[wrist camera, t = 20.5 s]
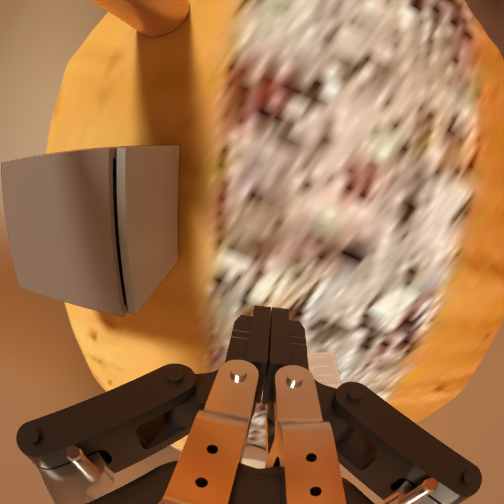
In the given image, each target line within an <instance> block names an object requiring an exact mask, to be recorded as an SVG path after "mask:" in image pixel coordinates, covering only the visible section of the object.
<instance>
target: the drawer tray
mask: <svg viewBox="0 0 504 504" xmlns="http://www.w3.org/2000/svg"><path fill="white" fill-rule="evenodd" d="M179 157H180V145H163V146H140V147H124V148H117V158H114V159H113V173H116V174H117V213H118V229H119V242H118V243H117V244H116V246H117V256H118V257H121V262H122V271H123V279H124V286H125V293H126V300H127V306H128V312H129V313H131V314H137V313H138V311H139V310H140V309H141V308H142V306H143V305H144V304H145V302H146V301H147V300H148V298H149V297H150V296H151V295H152V293H153V292H154V291H155V289H156V288H157V287H158V286H159V284H160V283H161V282H162V281H163V279H164V278H165V277H166V276H167V274H168V273H169V272H170V271H171V269H172V268H173V267H174V266H175V264H176V263H177V262H178V181H179Z"/></svg>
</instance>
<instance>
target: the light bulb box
mask: <svg viewBox="0 0 504 504" xmlns="http://www.w3.org/2000/svg"><path fill="white" fill-rule="evenodd" d="M307 355H308V365H309V371H310V372H311V373H312V375H313V377H314V379H315V380H316V381H318V382H319V383H321V384H323V385H326V386H330V387H333V388H338V387H339V386H340V385H341V381H340V376H339V371H338V367H337V362H336V357H335V353H334V352H325V353H307Z"/></svg>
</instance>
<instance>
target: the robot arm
mask: <svg viewBox="0 0 504 504" xmlns="http://www.w3.org/2000/svg"><path fill="white" fill-rule="evenodd" d="M89 1H91V2H93V3H95V4H97V5H98V6H100V7H102V8H103V9H105V10H107V11H108V12H110V13H111V14H113V15H115V16H116V17H118V18H119V19H121V20H122V21H124V22H125V23H127V24H128V25H130V26H131V27H133V28H134V29H136V30H137V31H139V32H140V33H142V34H143V35H146V36H151V37H153V36H160V35H164V34H167V33H169V32H171V31H172V30H174V29H176V28H177V27H178V26H179V25H180V24H181V23H182V22H183V21H184V20H185V18H186V17H187V15H188V13H189V8H190V7H189V2H188V0H89ZM270 314H271V317H270ZM262 391H263V397H262V403H268V408H267V415H266V420H265V423H266V464H265V468H262V469H259V468H254V467H251V466H248V465H245V464H242V460H243V456H244V451H245V447H246V442H247V438H248V434H249V429H250V425H251V420H252V416H253V415H254V413H255V407H256V402H257V403H260V402H261V396H262ZM188 434H189V435H188ZM186 435H188V438H187V440H186V443H185V445H184V448H183V450H182V452H181V455H180V458H179V460H178V461H173V462H169V463H166V464H163V465H161V466H159V467H157V468H155V469H153V470H152V471H150V472H148V473H146V474H145V475H143V476H141V477H139V478H137V479H136V480H134V481H132V482H130V483H128V484H126V485H124V486H122V487H120V488H118V489H116V490H114V491H112V492H110V493H108V494H106V495H104V496H102V494H104V492H106V491H108V490H109V489H110V488H111V487H112V486H113V484H114V480H115V478H114V473H116V472H119V471H121V470H123V469H125V468H127V467H129V466H131V465H133V464H135V463H137V462H139V461H141V460H143V459H145V458H147V457H149V456H151V455H152V454H154V453H156V452H158V451H160V450H162V449H164V448H166V447H167V446H169V445H171V444H173V443H174V442H176V441H178V440H180V439H181V438H183V437H185V436H186ZM17 444H18V447H19V448H20V450H21V451H22V452H23V453H24V454H25V455H26V456H27V457H28V458H29V459H30V460H31V461H32V462H33V464H35V465H36V466H37V467H38V469H39V471H40V473H41V476H42V478H43V480H44V482H45V485H46V487H47V489H48V491H49V493H50V495H51V497H52V499H53V501H54V503H55V504H374V503H373V502H372V501H371V500H370V499H369V498H367V497H366V496H365V495H364V494H363V493H362V492H361V491H360V490H359V489H357V488H356V487H355V486H354V485H353V484H352V483H350V482H349V481H348V480H346V479H344V478H343V477H341V472H340V466H339V463H340V464H342V465H343V466H344V467H345V468H346V469H347V470H348V471H350V473H352V474H353V475H354V476H355V477H356V478H357V479H359V480H360V481H361V482H362V483H364V484H365V485H366V486H367V487H368V488H369V489H371V490H372V491H373V492H374V493H375V494H377V495H378V496H379V497H381V498H382V499H383V500H384V502H383V504H459V503H461V502H462V501H464V500H466V499H467V498H469V497H470V496H472V495H473V494H475V493H476V492H477V491H478V489H479V488H480V485H481V482H482V475H481V472H480V470H479V468H478V467H477V466H475V465H474V464H473V463H471V462H470V461H468V460H467V459H465V458H464V457H462V456H461V455H459V454H458V453H456V452H454V451H453V450H452V449H450V448H449V447H448V446H446V445H445V444H443V443H442V442H440V441H439V440H438V439H436V438H435V437H433V436H432V435H430V434H429V433H428V432H426V431H425V430H424V429H422V428H421V427H419V426H418V425H417V424H415V423H414V422H413V421H411V420H410V419H409V418H407V417H406V416H404V415H403V414H402V413H400V412H399V411H398V410H396V409H395V408H394V407H392V406H391V405H390V404H388V403H387V402H386V401H384V400H383V399H382V398H380V397H379V396H378V395H376V394H375V393H374V392H373V391H371V390H370V389H369V388H367V387H366V386H364V385H363V384H360V383H357V382H346V383H343V384H341V385H340V386H339V387H338V388H333V387H330V386H326V385H323V384H321V383H319V382H318V381H316V380H315V379H314V377H313V375H312V373H311V372H310V371H309V365H308V355H307V346H306V338H305V329H304V327H303V326H302V325H301V323H300V322H299V321H291V320H289V309H283V308H274V307H272V311H271V307H264V306H254V313H253V316H245V315H241V316H240V317H239V318H238V319H237V320H236V321H235V323H234V327H233V331H232V335H231V339H230V344H229V348H228V352H227V356H226V360H225V363H224V364H222V365H221V366H220V368H219V369H218V370H216V371H214V372H211V373H205V374H195V373H194V372H193V371H192V369H190V368H189V367H187V366H185V365H182V364H168V365H165V366H163V367H161V368H159V369H157V370H154V371H152V372H150V373H148V374H146V375H144V376H141V377H139V378H137V379H135V380H133V381H130V382H128V383H126V384H124V385H121V386H119V387H117V388H114V389H112V390H110V391H107V392H105V393H103V394H100V395H98V396H95V397H93V398H91V399H88V400H86V401H83V402H81V403H78V404H76V405H73V406H70V407H68V408H65V409H63V410H60V411H57V412H55V413H52V414H49V415H46V416H43V417H41V418H38V419H35V420H32V421H29V422H26V423H25V424H23V425H22V426H21V427H20V428H19V430H18V432H17ZM101 496H102V497H101Z"/></svg>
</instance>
